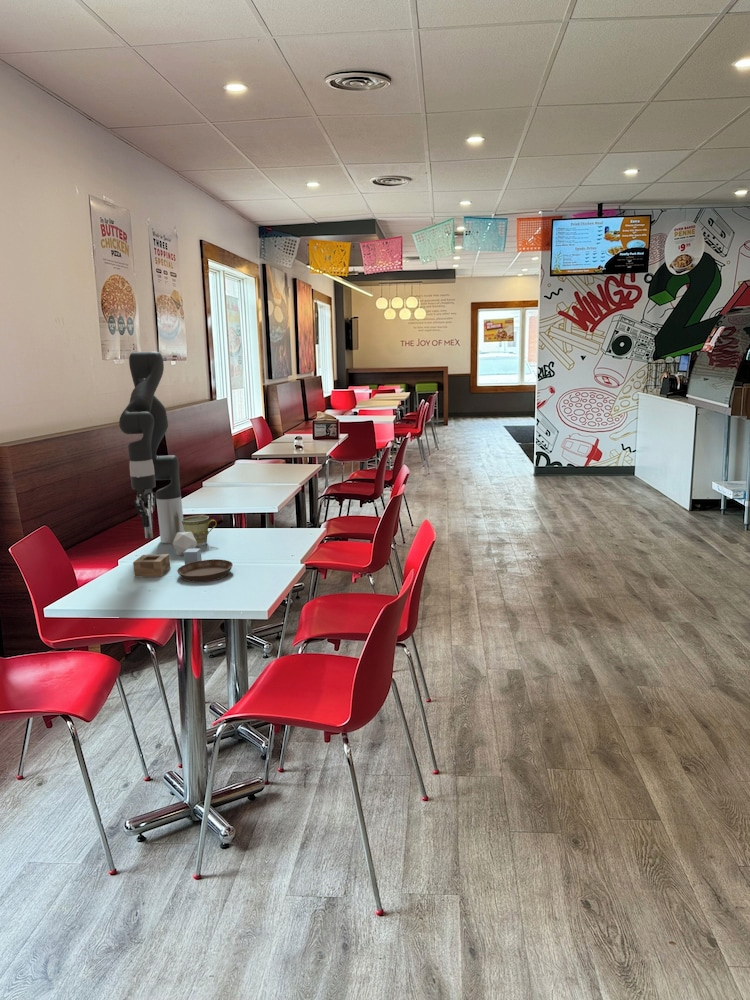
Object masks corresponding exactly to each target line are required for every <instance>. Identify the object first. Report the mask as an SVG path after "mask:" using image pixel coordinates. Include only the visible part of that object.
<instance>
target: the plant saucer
mask: <svg viewBox="0 0 750 1000" xmlns="http://www.w3.org/2000/svg"><path fill="white" fill-rule="evenodd" d="M232 568H233V562H232V561H230V560H225V559H219V558H218V559H202V561H196V562H192V563H188V564H186V565H185V564H184V565H181V566H180V567H177V570H176V572H177V574H178V575H179V576H180V577H181V578H182V579H184V580H185V581H187V582H193V583H199V582H200V583H201V582H211V581H214V580H218V579H219V580H220V579H222V578H224V577H226V576H227V575H228V574H229V573H230V572H231V571H232Z"/></svg>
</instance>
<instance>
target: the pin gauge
mask: <svg viewBox="0 0 750 1000" xmlns="http://www.w3.org/2000/svg"><path fill="white" fill-rule="evenodd" d="M144 506H147V505H144ZM148 510H149V515H148V516H149V521H150V526H149V527H143V528H144V536H145V539H148V540H149V539H153V538H154V533H153V524H152V522H151V512H150V508H149V509H148Z"/></svg>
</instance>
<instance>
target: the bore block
mask: <svg viewBox="0 0 750 1000" xmlns="http://www.w3.org/2000/svg"><path fill="white" fill-rule="evenodd" d="M132 564H133V565H132V568H133V574H134V578H150V577H151V578H153V577H163V576H164V575H166V573H168V571H170V569H171V568H172V567H171V560H170V554H169V553H161V554H159V553H155V554H142V555H141V556H139V557H138V558H137V559H136V560H134V561H133V562H132Z"/></svg>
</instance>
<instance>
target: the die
mask: <svg viewBox="0 0 750 1000" xmlns="http://www.w3.org/2000/svg"><path fill="white" fill-rule="evenodd" d="M172 545H173V547H174V549H175V551H176V553H177V555H178V556H184V552H185V551H186V550H187V549H195V548H197V546H196V545H197V542H196V540H195V538H194V536H193V534H192V532H179V533H177V534H176V536H175V539H174V541H173V543H172Z"/></svg>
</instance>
